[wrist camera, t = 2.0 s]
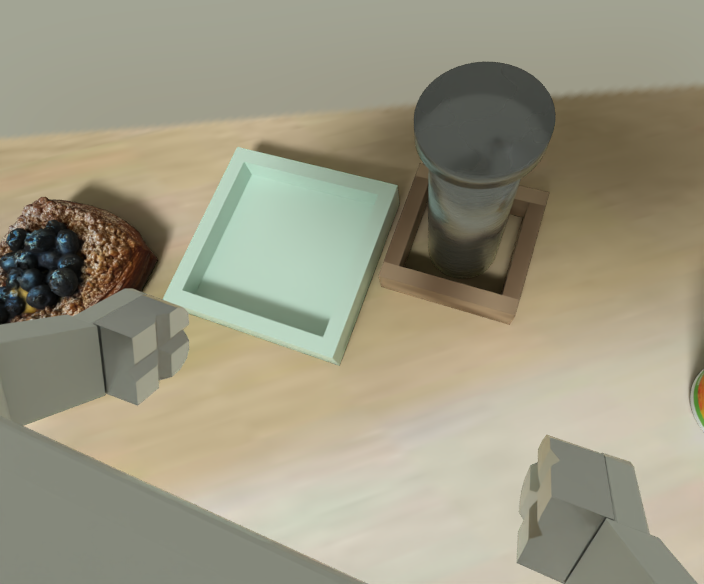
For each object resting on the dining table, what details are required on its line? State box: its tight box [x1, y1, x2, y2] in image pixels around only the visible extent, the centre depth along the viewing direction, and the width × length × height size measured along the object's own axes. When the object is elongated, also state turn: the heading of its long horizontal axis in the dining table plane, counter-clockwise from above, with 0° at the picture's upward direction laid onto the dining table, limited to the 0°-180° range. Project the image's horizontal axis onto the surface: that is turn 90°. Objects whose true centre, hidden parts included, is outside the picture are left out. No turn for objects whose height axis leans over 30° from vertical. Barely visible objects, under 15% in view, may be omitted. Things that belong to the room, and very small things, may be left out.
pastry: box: [0, 197, 158, 325], centre depth 33 cm, size 11×12×6 cm
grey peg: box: [414, 62, 555, 278], centre depth 26 cm, size 6×6×13 cm
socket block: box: [379, 163, 549, 325], centre depth 31 cm, size 8×8×2 cm
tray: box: [162, 147, 400, 366], centre depth 32 cm, size 12×12×2 cm
